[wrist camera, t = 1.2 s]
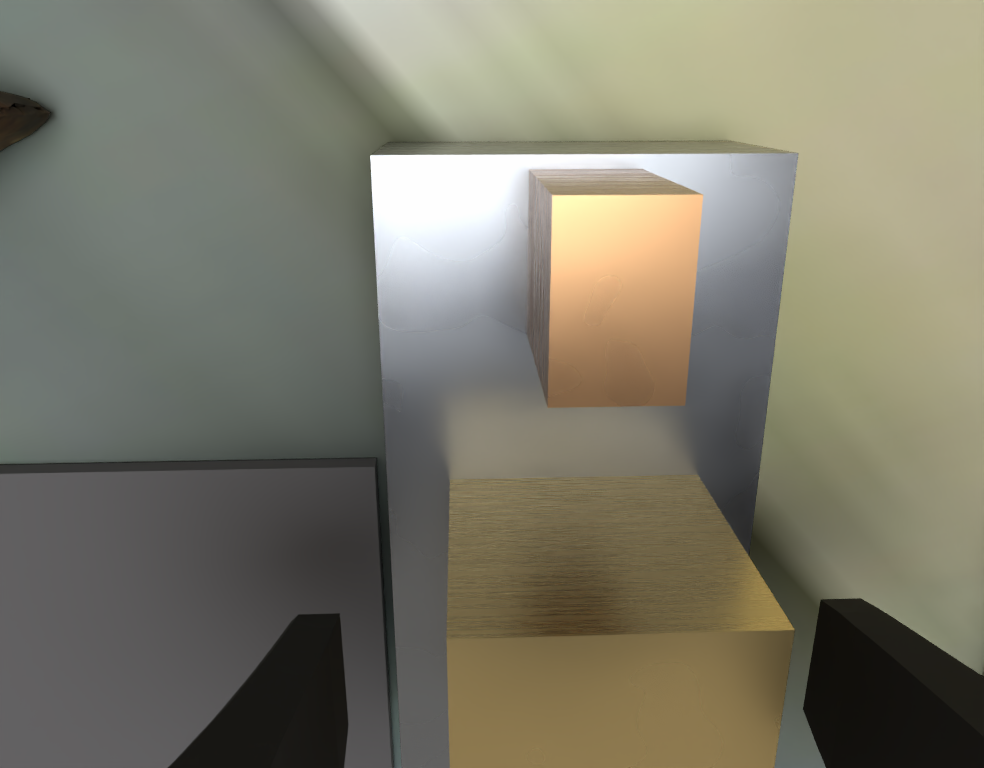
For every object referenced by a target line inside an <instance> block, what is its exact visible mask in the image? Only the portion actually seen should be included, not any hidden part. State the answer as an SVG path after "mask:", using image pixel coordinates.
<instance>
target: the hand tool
mask: <svg viewBox="0 0 984 768" xmlns="http://www.w3.org/2000/svg"><path fill="white" fill-rule="evenodd" d="M49 115H50V112H49V111H47V110H46V109H44V108H43V107H41V106H40V105H39V104H38V103H37V102H34V101H32V100H30V98H24V97H21V96H18V95H14V94H10V93H6V92H1V91H0V151H1V150H2V149H4V148H6V147H8V146H9V145H11V144H13V143H15V142H17V141H19V140H21V139H23V138H25V137H27V136H29V135H30V134H32V133H33V132H34V131H35V130H36V129H38V128H39V127H40V126H41V125H43V124H44V123H45V122H46V121H47V119H48V117H49Z"/></svg>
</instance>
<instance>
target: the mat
mask: <svg viewBox="0 0 984 768" xmlns="http://www.w3.org/2000/svg"><path fill="white" fill-rule="evenodd" d="M332 613H340V621H341V634H342V646H343V659H344V672H345V685H346V697H347V710H348V723H349V726H348V735H347V745H346V755H345V764H344V768H394V763H393V745H392V727H391V709H390V691H389V673H388V655H387V637H386V619H385V601H384V583H383V565H382V547H381V529H380V511H379V493H378V475H377V458H352V459H298V460H244V461H190V462H135V463H81V464H27V465H0V768H168V767H169V766H170V765H171V764H172V763H173V762H174V761H175V760H176V759H177V758H178V757H179V755H180V754H181V753H182V752H183V751H184V750H185V749H186V748H187V747H188V746H189V745H190V744H191V743H192V741H193V740H194V739H195V738H196V737H197V736H198V735H199V734H200V733H201V732H202V731H203V730H204V729H205V728H206V726H207V725H208V724H209V723H210V722H211V721H212V720H213V719H214V718H215V717H216V715H217V714H218V713H219V712H220V711H221V710H222V708H223V707H224V706H225V705H226V704H227V702H228V701H229V700H230V699H231V698H232V696H233V695H234V694H235V693H236V692H237V690H238V689H239V688H240V687H241V686H242V684H243V683H244V682H245V681H246V680H247V679H248V677H249V676H250V675H251V674H252V672H253V671H254V670H255V668H256V667H257V666H258V665H259V663H260V662H261V661H262V660H263V658H264V657H265V656H266V654H267V653H268V652H269V650H270V649H271V648H272V646H273V645H274V644H275V642H276V641H277V640H278V638H279V637H280V636H281V634H282V633H283V632H284V630H285V629H286V628H287V626H288V625H289V624H290V622H291V621H292V620H293V619H294V618H295V617H296V616H297V615H298V614H332Z"/></svg>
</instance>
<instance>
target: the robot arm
mask: <svg viewBox="0 0 984 768" xmlns="http://www.w3.org/2000/svg"><path fill="white" fill-rule="evenodd" d="M803 710H804V713H805V715H806V718H807V721H808V723H809V726H810V728H811V731H812V734H813V736H814V739H815V742H816V744H817V747H818V749H819V752H820V754H821V756H822V759H823V761H824V764H825V766H826V768H984V677H983V676H982V675H980V674H978V673H977V672H975V671H974V670H972V669H971V668H969V667H968V666H966V665H964V664H963V663H961V662H960V661H958V660H957V659H955V658H954V657H952V656H951V655H949V654H948V653H946V652H945V651H943V650H941V649H940V648H938V647H937V646H935V645H934V644H932V643H931V642H929V641H928V640H926V639H925V638H923V637H922V636H920V635H919V634H917V633H916V632H914V631H913V630H911V629H910V628H908V627H906V626H905V625H903V624H902V623H900V622H899V621H897V620H896V619H894V618H893V617H891V616H889V615H888V614H886V613H885V612H883V611H881V610H880V609H878V608H876V607H875V606H873V605H871V604H870V603H868V602H866V601H864V600H863V599H861V598H858V599H823V600H821V602H820V608H819V614H818V620H817V626H816V633H815V639H814V645H813V651H812V657H811V663H810V670H809V676H808V682H807V688H806V694H805V700H804V707H803ZM348 726H349V723H348V710H347V697H346V685H345V672H344V659H343V646H342V634H341V621H340V613H332V614H298V615H297V616H296V617H295V618H294V619H293V620H292V621H291V622H290V624H289V625H288V626H287V628H286V629H285V630H284V632H283V633H282V634H281V636H280V637H279V638H278V640H277V641H276V642H275V644H274V645H273V646H272V648H271V649H270V650H269V652H268V653H267V654H266V656H265V657H264V658H263V660H262V661H261V662H260V663H259V665H258V666H257V667H256V668H255V670H254V671H253V672H252V674H251V675H250V676H249V677H248V679H247V680H246V681H245V682H244V683H243V684H242V686H241V687H240V688H239V689H238V690H237V692H236V693H235V694H234V695H233V696H232V698H231V699H230V700H229V701H228V702H227V704H226V705H225V706H224V707H223V708H222V710H221V711H220V712H219V713H218V714H217V715H216V717H215V718H214V719H213V720H212V721H211V722H210V723H209V724H208V725H207V726H206V728H205V729H204V730H203V731H202V732H201V733H200V734H199V735H198V736H197V737H196V738H195V739H194V740H193V741H192V743H191V744H190V745H189V746H188V747H187V748H186V749H185V750H184V751H183V752H182V753H181V754H180V755H179V757H178V758H177V759H176V760H175V761H174V762H173V763H172V764H171V765H170V766H169V767H168V768H344V764H345V755H346V745H347V735H348Z"/></svg>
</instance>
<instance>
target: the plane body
mask: <svg viewBox="0 0 984 768" xmlns="http://www.w3.org/2000/svg"><path fill="white" fill-rule="evenodd" d="M370 159H371V178H372V198H373V217H374V237H375V256H376V276H377V295H378V314H379V334H380V353H381V373H382V392H383V412H384V431H385V451H386V470H387V490H388V509H389V529H390V548H391V568H392V587H393V607H394V626H395V646H396V665H397V685H398V704H399V723H400V743H401V762H402V768H450V756H449V716H448V677H447V594H448V547H449V499H450V480H455V479H506V478H558V477H609V476H660V475H698V476H699V477H700V479H701V481H702V482H703V484H704V485H705V487H706V489H707V490H708V492H709V493H710V495H711V497H712V498H713V500H714V501H715V503H716V505H717V506H718V508H719V509H720V511H721V513H722V514H723V516H724V517H725V519H726V521H727V522H728V524H729V525H730V527H731V529H732V530H733V532H734V533H735V535H736V537H737V538H738V540H739V541H740V543H741V545H742V546H743V548H744V549H745V551H746V553H747V554H748V556H749V551H750V543H751V535H752V527H753V518H754V510H755V502H756V494H757V486H758V478H759V470H760V461H761V453H762V445H763V437H764V429H765V421H766V413H767V404H768V396H769V388H770V380H771V372H772V364H773V356H774V348H775V339H776V331H777V323H778V315H779V307H780V299H781V291H782V282H783V274H784V266H785V258H786V250H787V242H788V234H789V225H790V217H791V209H792V201H793V193H794V185H795V177H796V168H797V160H798V153H794V152H789V151H783V150H778V149H772V148H767V147H761V146H756V145H751V144H745V143H740V142H734V141H584V142H388V143H386V144H385V145H384V146H382V147H381V148H380V149H378V150H377V151H376V152H374V153H373V154H371V155H370Z"/></svg>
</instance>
